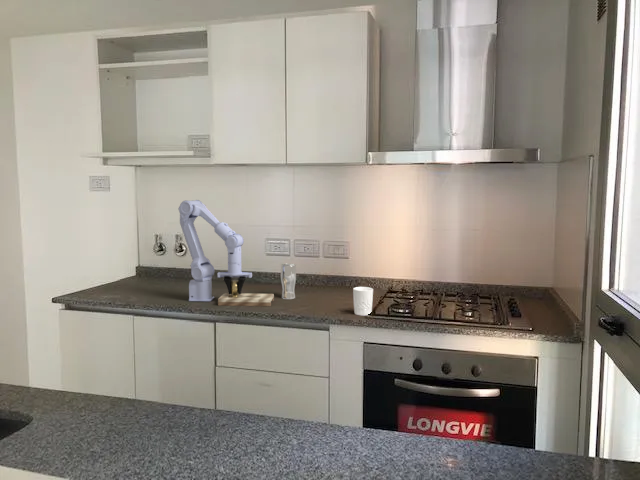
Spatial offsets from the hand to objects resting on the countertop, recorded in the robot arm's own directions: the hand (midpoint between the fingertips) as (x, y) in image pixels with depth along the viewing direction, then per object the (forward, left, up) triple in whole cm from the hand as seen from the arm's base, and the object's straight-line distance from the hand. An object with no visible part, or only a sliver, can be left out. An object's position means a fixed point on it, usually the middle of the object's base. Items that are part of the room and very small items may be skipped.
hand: (235, 293), depth 224 cm
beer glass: (+22, +11, -4) cm, 25 cm away
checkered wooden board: (+5, 0, -4) cm, 6 cm away
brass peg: (0, 0, -3) cm, 4 cm away
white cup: (+54, -17, -4) cm, 57 cm away
